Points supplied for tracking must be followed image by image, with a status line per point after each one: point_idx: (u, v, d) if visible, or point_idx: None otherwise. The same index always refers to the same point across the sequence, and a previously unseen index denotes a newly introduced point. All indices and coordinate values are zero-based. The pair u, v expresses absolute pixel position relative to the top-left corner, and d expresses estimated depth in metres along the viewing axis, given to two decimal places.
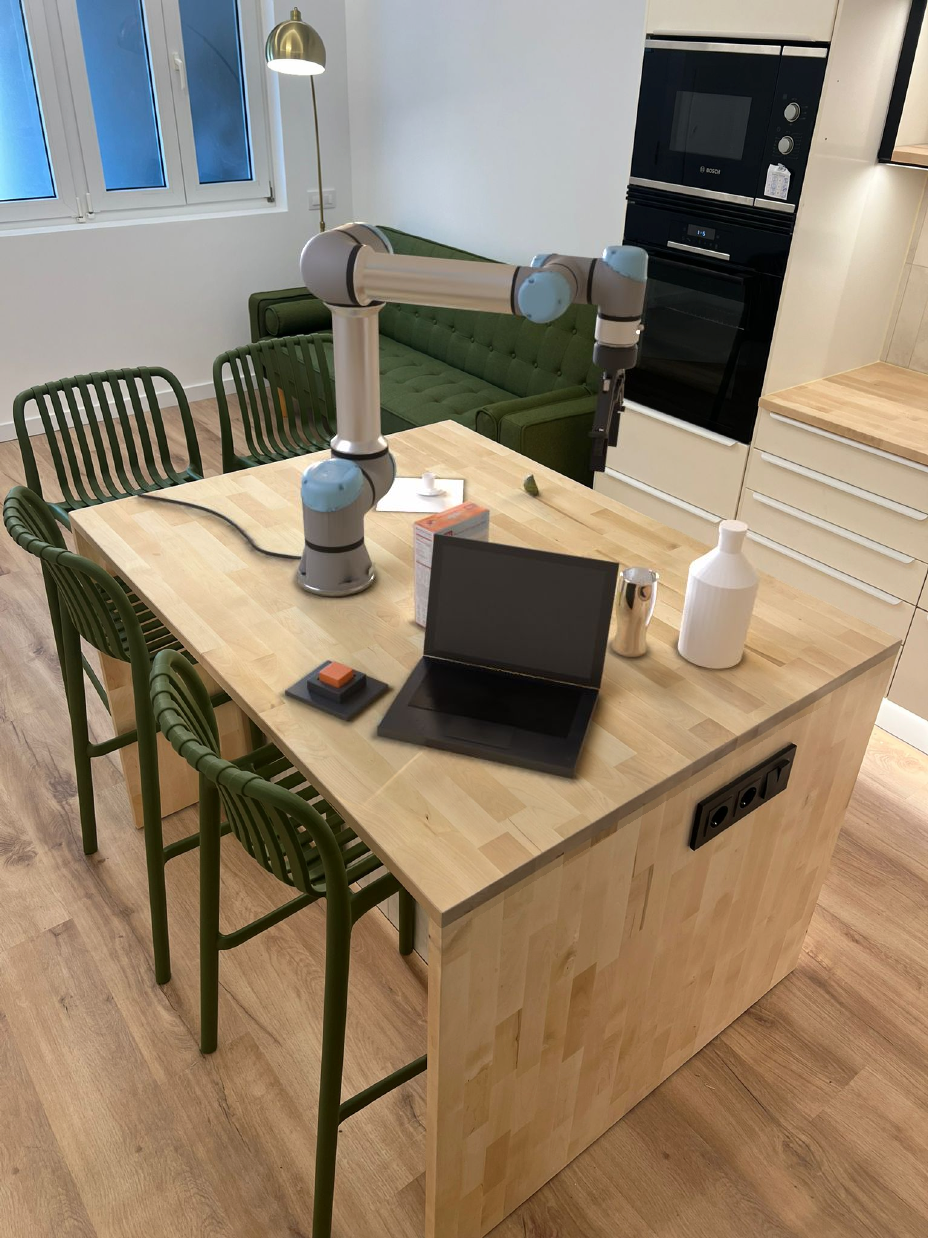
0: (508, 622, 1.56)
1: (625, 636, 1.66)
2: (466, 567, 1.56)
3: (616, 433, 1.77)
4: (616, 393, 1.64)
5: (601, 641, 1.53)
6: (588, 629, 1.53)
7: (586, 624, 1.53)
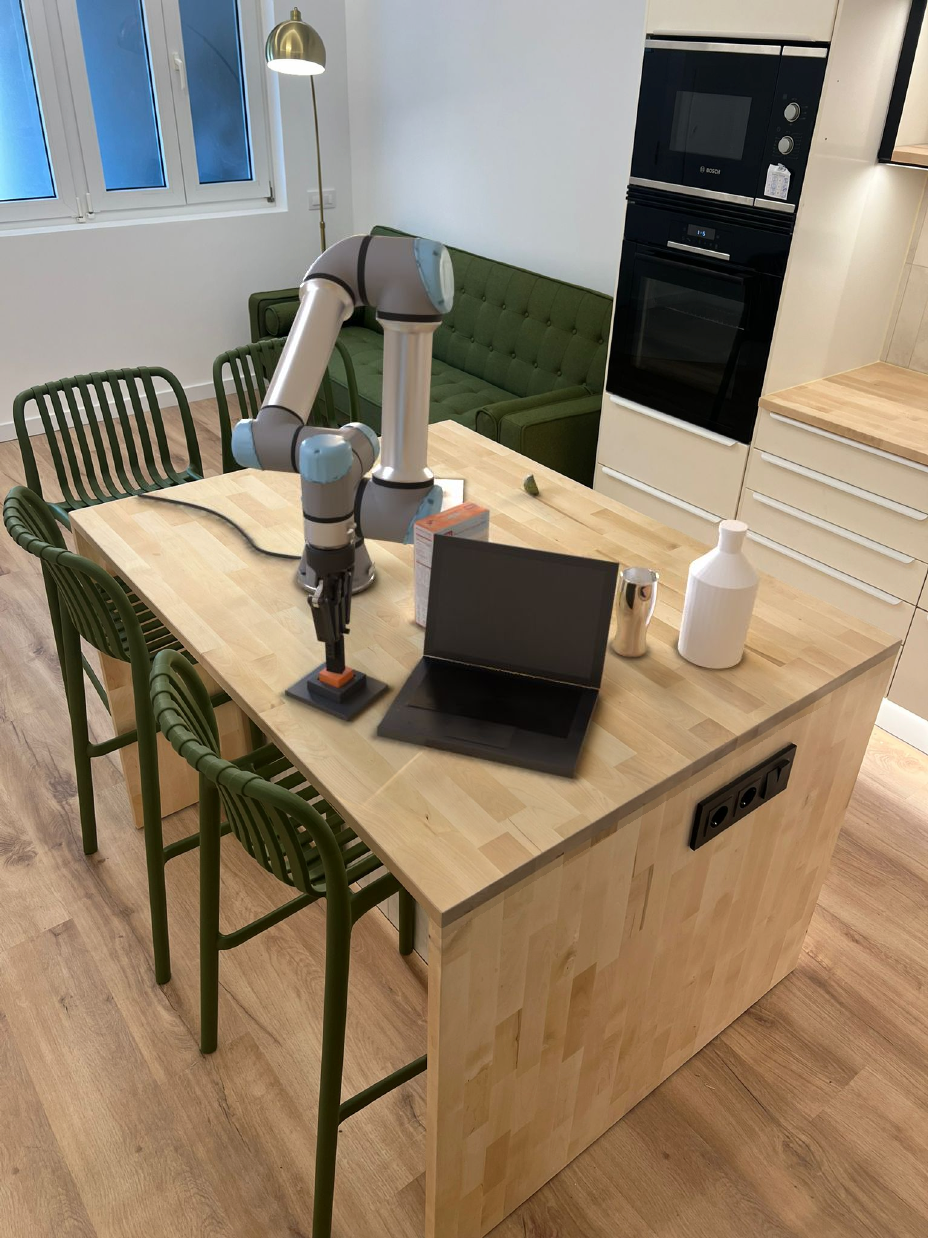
0: (508, 622, 1.56)
1: (625, 636, 1.66)
2: (466, 567, 1.56)
3: None
4: (335, 598, 1.44)
5: (601, 641, 1.53)
6: (588, 629, 1.53)
7: (586, 624, 1.53)
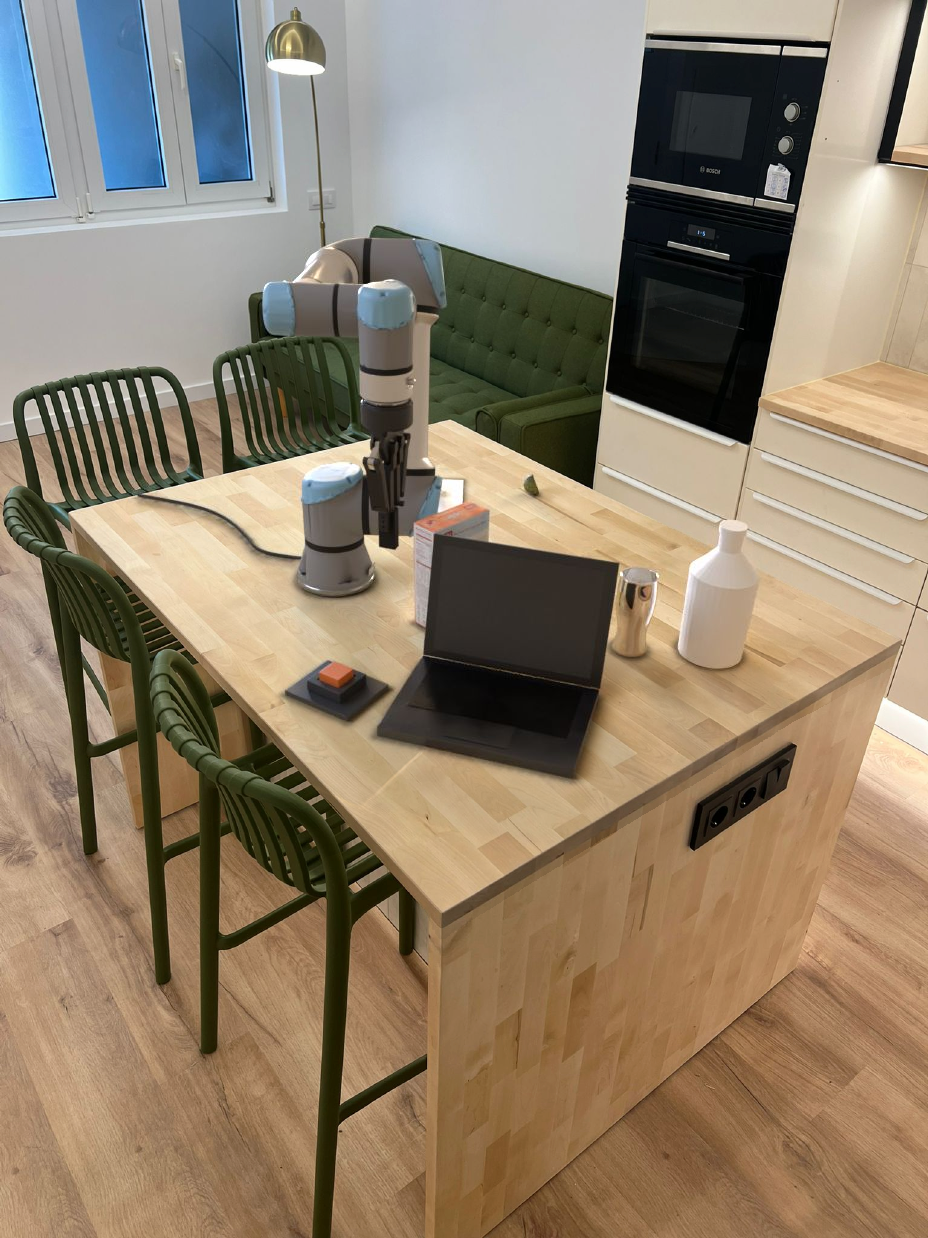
0: (508, 622, 1.56)
1: (625, 636, 1.66)
2: (466, 567, 1.56)
3: None
4: (391, 463, 1.36)
5: (601, 641, 1.53)
6: (588, 629, 1.53)
7: (586, 624, 1.53)
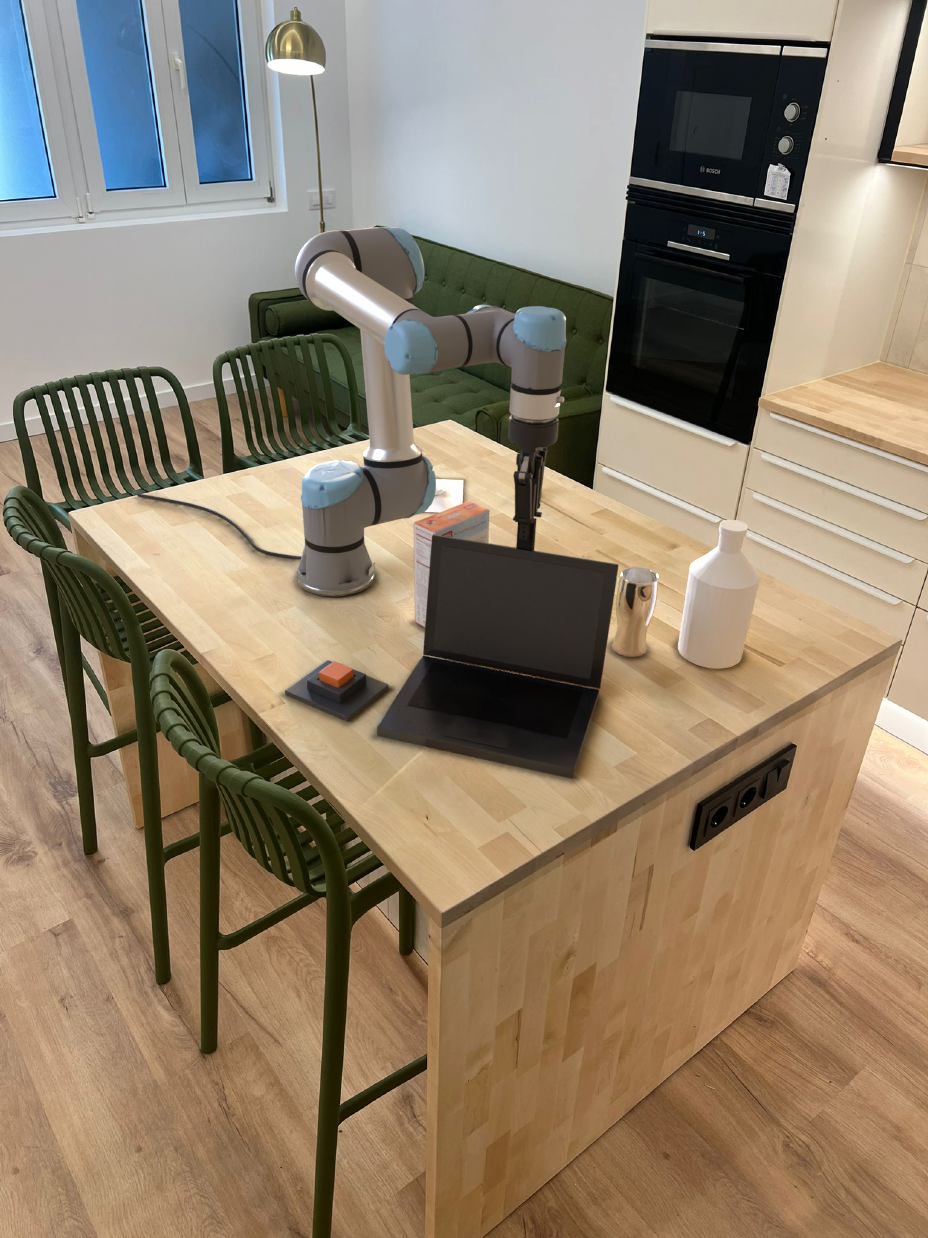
0: (508, 623, 1.56)
1: (625, 636, 1.66)
2: (464, 568, 1.55)
3: None
4: (536, 476, 1.44)
5: (601, 642, 1.53)
6: (587, 630, 1.53)
7: (585, 625, 1.52)
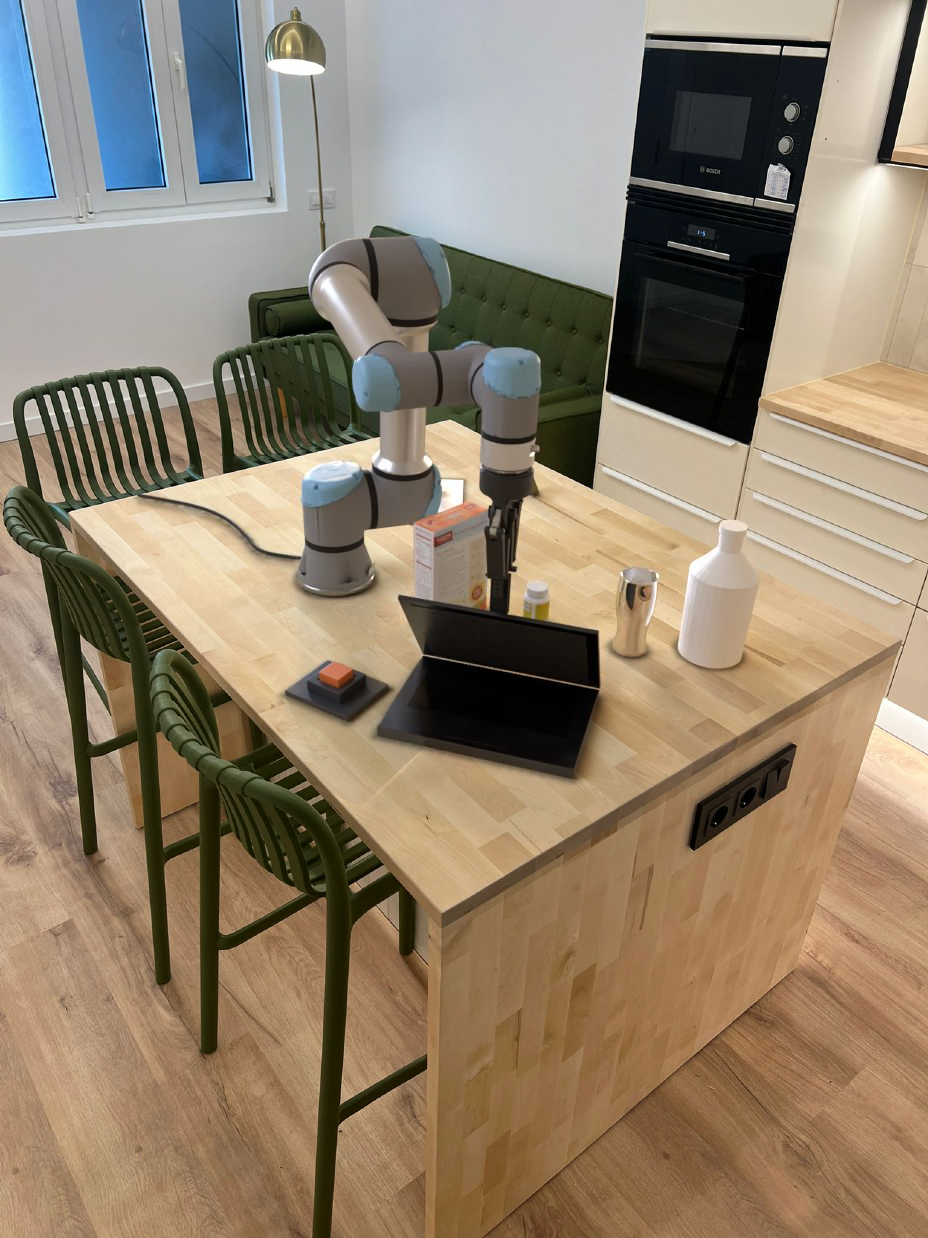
0: (497, 650, 1.51)
1: (625, 636, 1.66)
2: (440, 619, 1.46)
3: None
4: (510, 530, 1.32)
5: (593, 668, 1.48)
6: (578, 662, 1.47)
7: (574, 659, 1.47)
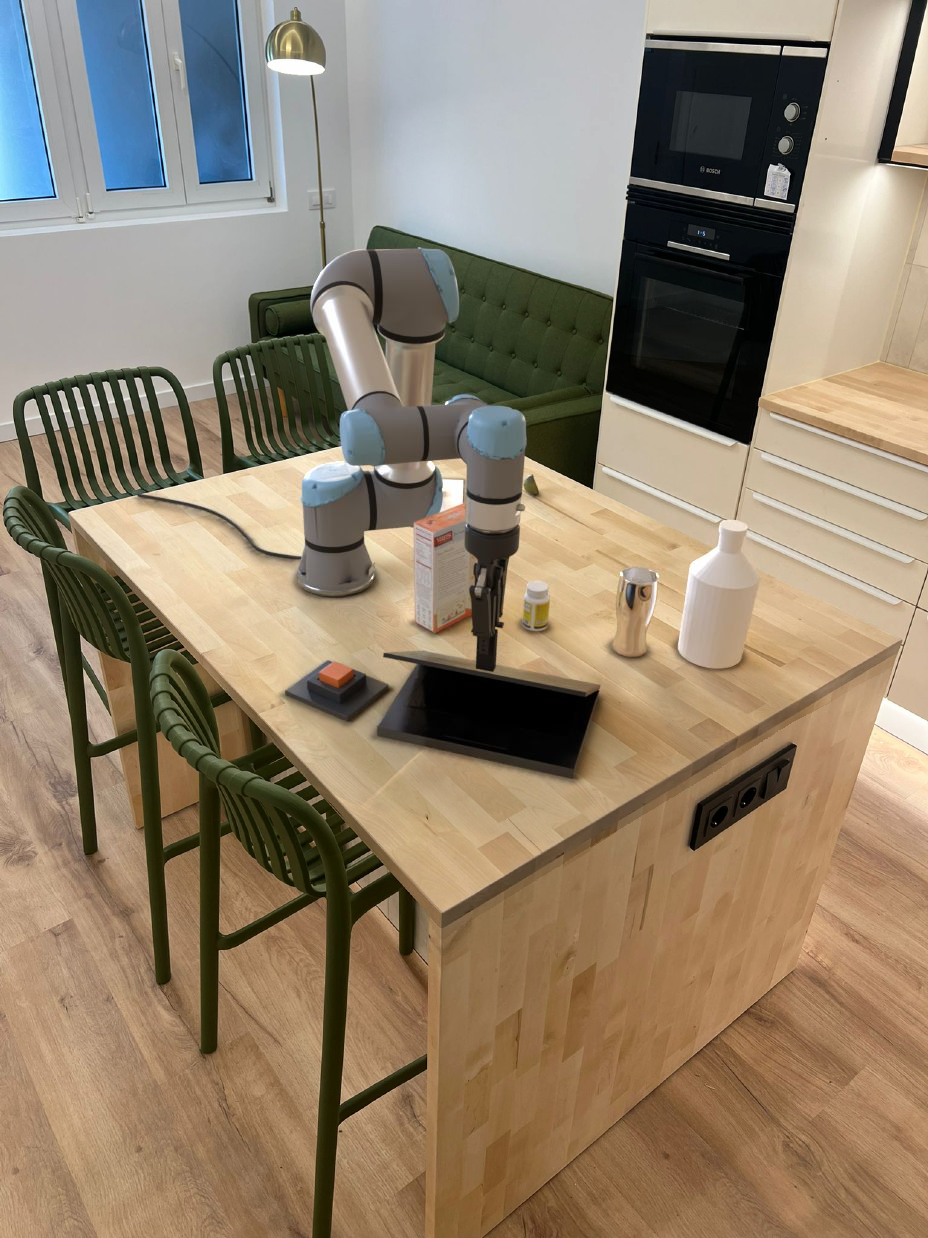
0: None
1: (625, 636, 1.66)
2: None
3: None
4: (496, 588, 1.30)
5: None
6: None
7: None
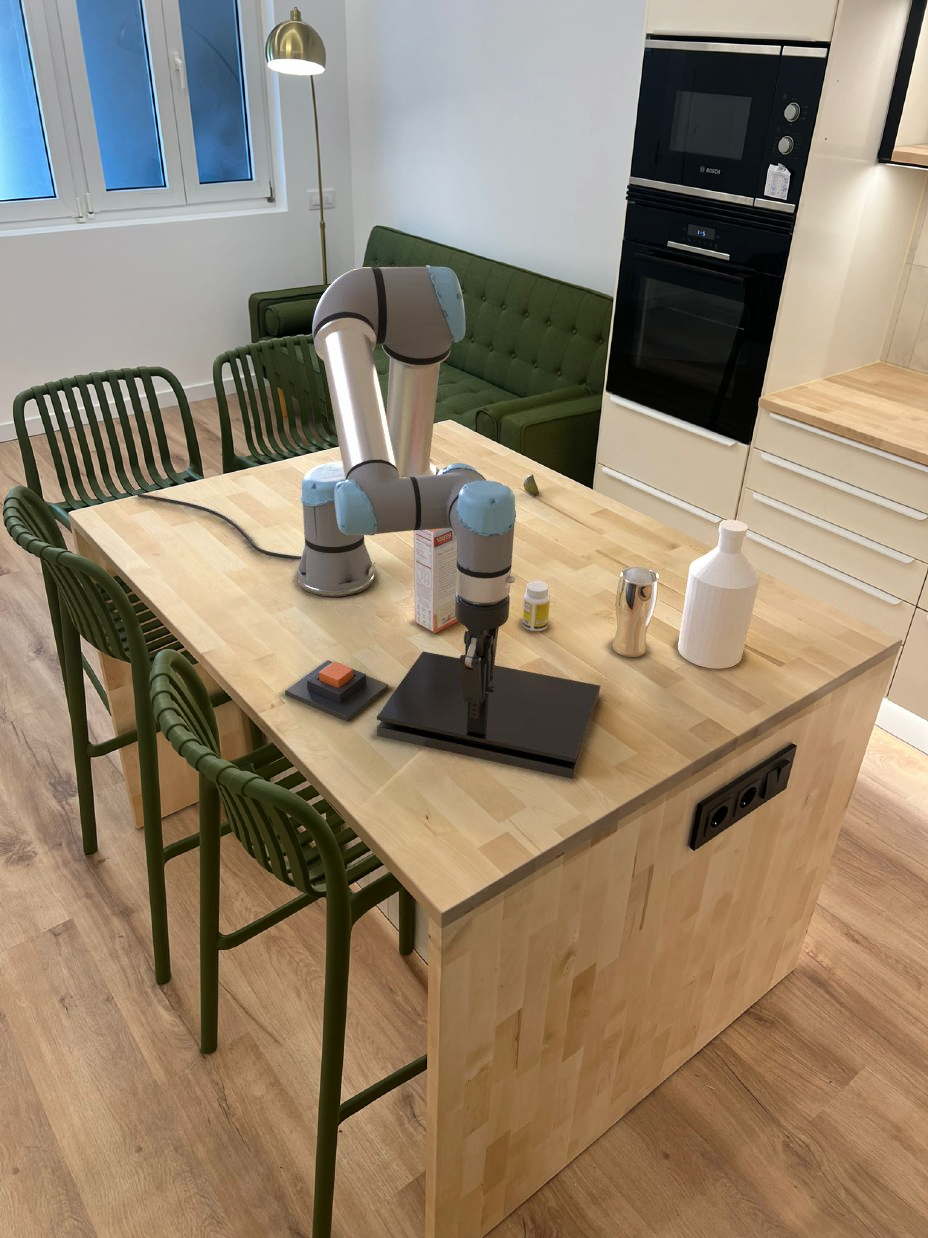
0: None
1: (625, 636, 1.66)
2: None
3: None
4: (486, 656, 1.32)
5: None
6: None
7: None
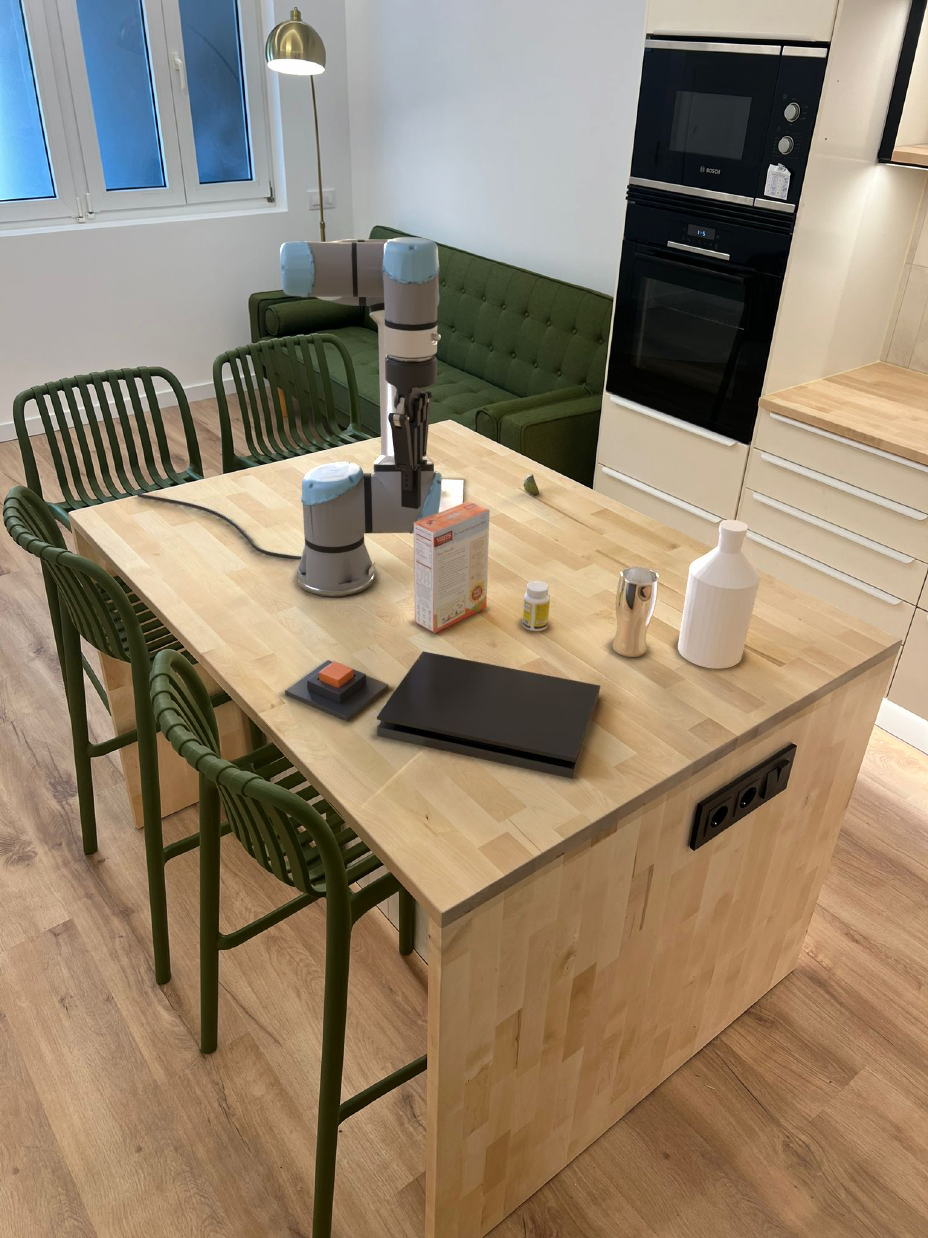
0: None
1: (625, 636, 1.66)
2: None
3: None
4: (415, 420, 1.37)
5: None
6: None
7: None
